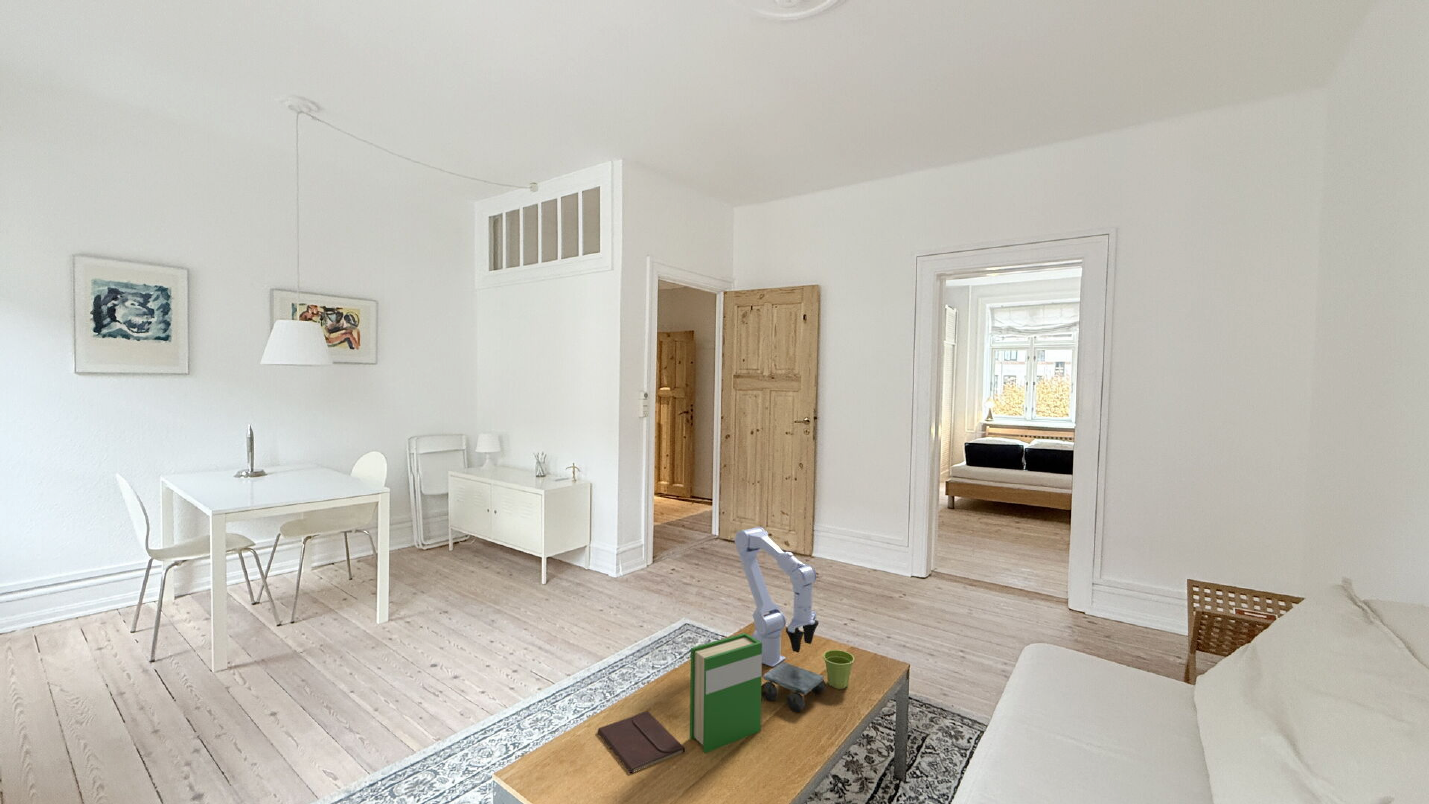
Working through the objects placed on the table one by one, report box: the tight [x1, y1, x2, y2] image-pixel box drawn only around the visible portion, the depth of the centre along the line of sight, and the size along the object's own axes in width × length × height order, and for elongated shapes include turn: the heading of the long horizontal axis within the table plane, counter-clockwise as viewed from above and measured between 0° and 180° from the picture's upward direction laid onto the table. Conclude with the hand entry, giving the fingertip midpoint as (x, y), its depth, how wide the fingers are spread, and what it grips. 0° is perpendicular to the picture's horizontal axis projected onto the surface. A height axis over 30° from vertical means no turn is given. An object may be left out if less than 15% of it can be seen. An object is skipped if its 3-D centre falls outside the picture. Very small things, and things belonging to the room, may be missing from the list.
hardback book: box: [689, 632, 763, 754], centre depth 156 cm, size 18×7×24 cm, turn 124°
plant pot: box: [822, 649, 855, 690], centre depth 183 cm, size 9×9×9 cm
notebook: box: [597, 710, 686, 773], centre depth 153 cm, size 15×20×2 cm
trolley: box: [761, 661, 827, 713], centre depth 176 cm, size 14×14×6 cm
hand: (802, 647), depth 188 cm, fingers open, 7 cm apart
